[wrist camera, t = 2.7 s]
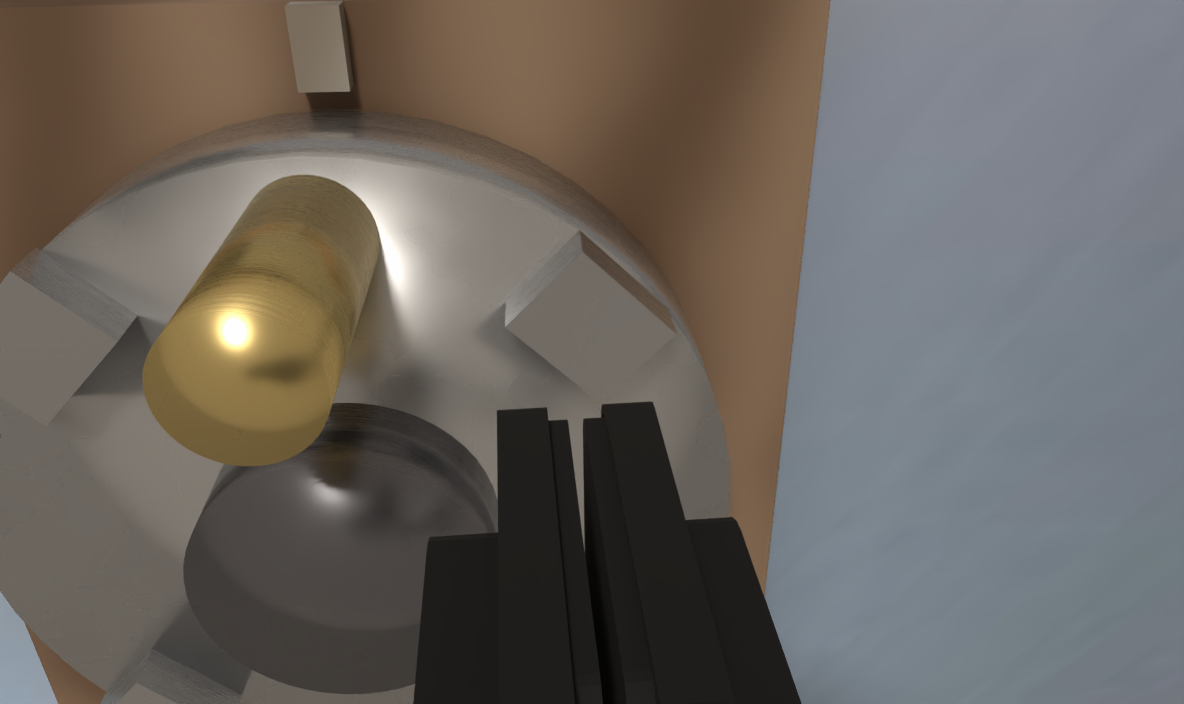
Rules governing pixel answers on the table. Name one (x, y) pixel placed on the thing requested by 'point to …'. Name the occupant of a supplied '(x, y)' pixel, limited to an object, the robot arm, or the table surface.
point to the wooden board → (485, 106)
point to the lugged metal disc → (308, 397)
